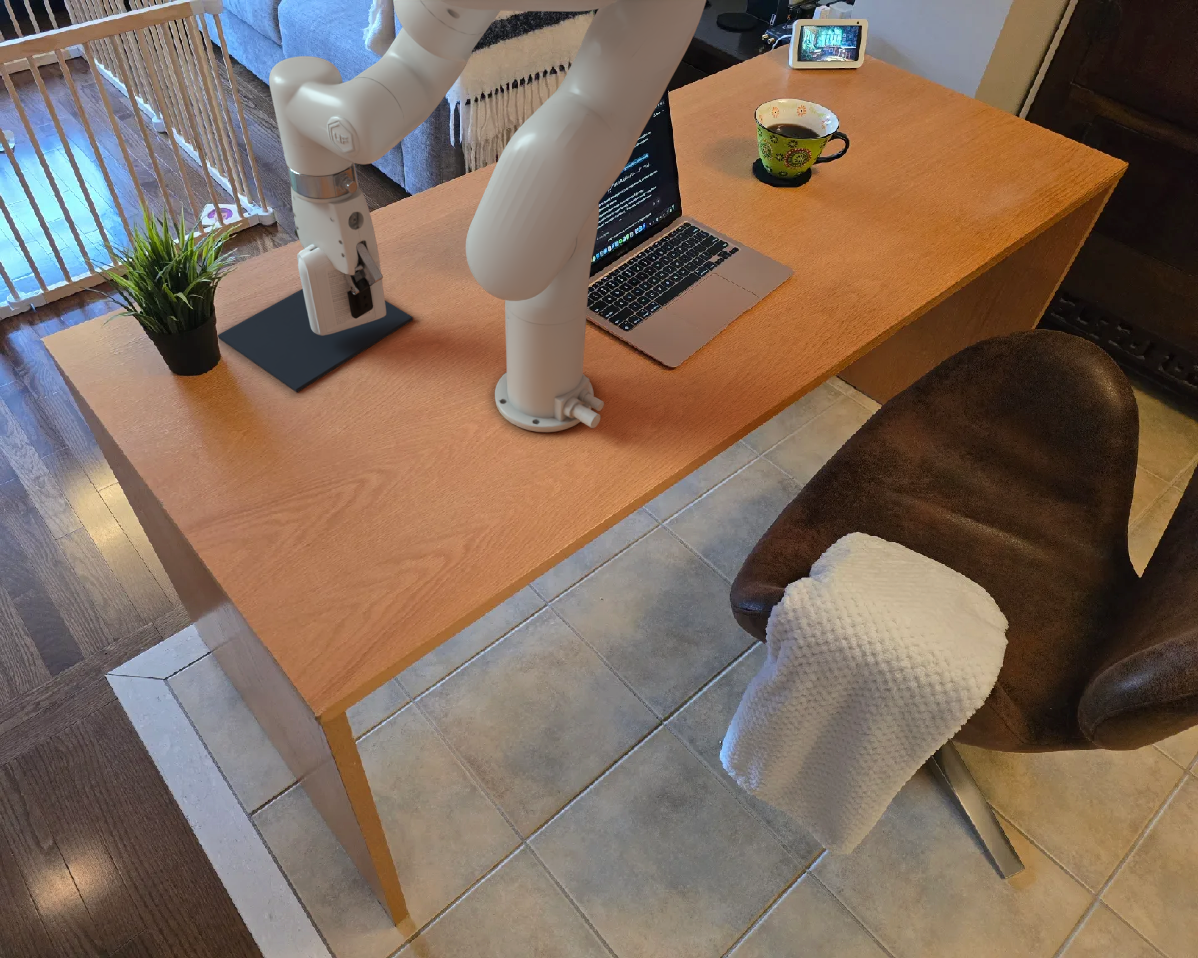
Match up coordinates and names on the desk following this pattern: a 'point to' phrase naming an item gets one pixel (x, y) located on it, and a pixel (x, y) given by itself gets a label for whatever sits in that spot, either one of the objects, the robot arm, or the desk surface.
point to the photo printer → (332, 294)
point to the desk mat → (304, 341)
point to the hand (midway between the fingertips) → (346, 301)
